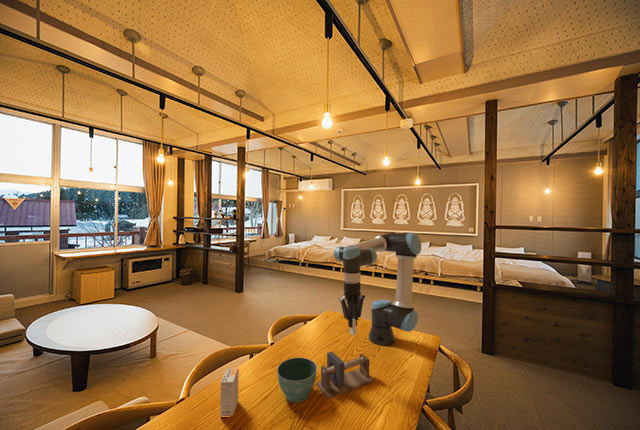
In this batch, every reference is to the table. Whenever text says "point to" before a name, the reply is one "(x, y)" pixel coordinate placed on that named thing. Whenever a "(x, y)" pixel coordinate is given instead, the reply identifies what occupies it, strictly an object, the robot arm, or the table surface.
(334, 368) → the pipe stand
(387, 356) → the table surface
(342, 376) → the ring
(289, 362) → the flower pot
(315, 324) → the table surface
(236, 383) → the supplement box
